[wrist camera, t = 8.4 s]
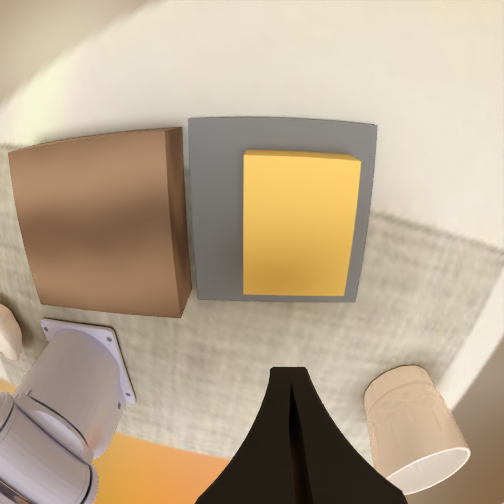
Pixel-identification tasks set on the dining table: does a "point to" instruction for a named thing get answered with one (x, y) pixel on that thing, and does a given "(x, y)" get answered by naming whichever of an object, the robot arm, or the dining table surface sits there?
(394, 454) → the white cup
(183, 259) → the brown cuboid
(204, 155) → the mat
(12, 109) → the dining table surface
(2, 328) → the dumpling
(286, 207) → the yellow cuboid
